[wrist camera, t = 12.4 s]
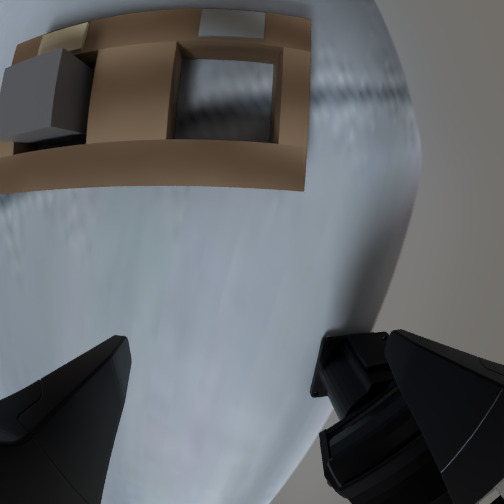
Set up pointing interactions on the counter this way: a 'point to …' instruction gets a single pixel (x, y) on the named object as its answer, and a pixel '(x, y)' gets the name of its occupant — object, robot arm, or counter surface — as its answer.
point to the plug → (46, 99)
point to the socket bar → (170, 104)
